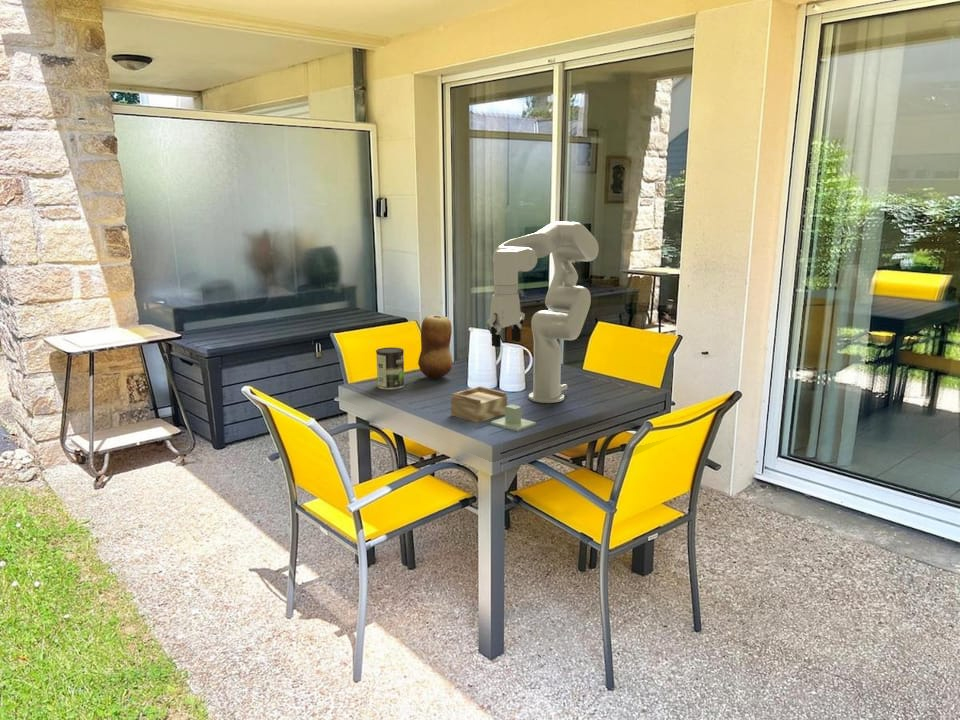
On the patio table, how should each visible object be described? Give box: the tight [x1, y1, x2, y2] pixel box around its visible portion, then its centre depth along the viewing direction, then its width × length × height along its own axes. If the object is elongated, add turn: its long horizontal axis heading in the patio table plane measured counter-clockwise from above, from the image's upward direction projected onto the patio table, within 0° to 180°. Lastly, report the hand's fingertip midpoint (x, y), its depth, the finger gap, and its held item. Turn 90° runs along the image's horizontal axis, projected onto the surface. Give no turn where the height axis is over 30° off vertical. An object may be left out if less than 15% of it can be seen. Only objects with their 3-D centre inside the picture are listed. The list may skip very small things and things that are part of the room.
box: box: [450, 385, 508, 424], centre depth 232 cm, size 14×12×7 cm
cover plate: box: [490, 404, 537, 432], centre depth 222 cm, size 9×11×6 cm
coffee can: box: [375, 346, 405, 391], centre depth 266 cm, size 10×10×14 cm
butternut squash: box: [417, 314, 453, 380], centre depth 277 cm, size 14×13×25 cm
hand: (506, 343), depth 223 cm, fingers open, 9 cm apart
